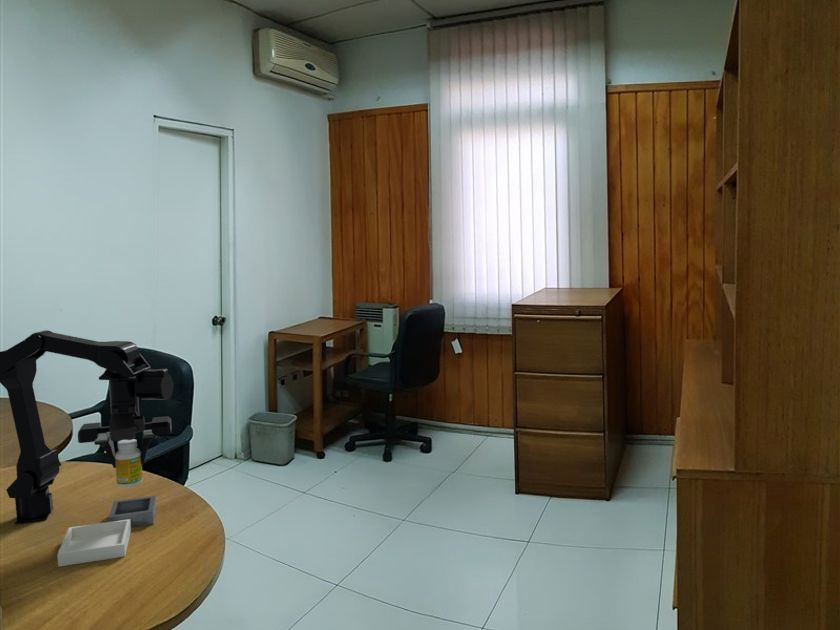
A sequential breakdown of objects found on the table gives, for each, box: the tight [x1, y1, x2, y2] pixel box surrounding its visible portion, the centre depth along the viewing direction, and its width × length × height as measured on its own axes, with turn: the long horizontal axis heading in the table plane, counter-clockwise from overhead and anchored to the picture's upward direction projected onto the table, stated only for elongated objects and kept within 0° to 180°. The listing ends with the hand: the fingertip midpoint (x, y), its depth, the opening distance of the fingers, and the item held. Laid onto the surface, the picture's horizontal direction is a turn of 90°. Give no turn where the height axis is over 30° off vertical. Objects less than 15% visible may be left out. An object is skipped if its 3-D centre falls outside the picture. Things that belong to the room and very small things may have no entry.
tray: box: [56, 519, 132, 568], centre depth 132 cm, size 12×12×3 cm
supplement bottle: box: [115, 438, 144, 488], centre depth 143 cm, size 5×5×10 cm
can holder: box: [108, 495, 157, 528], centre depth 145 cm, size 9×9×3 cm
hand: (128, 465), depth 143 cm, fingers closed on supplement bottle, 5 cm apart
